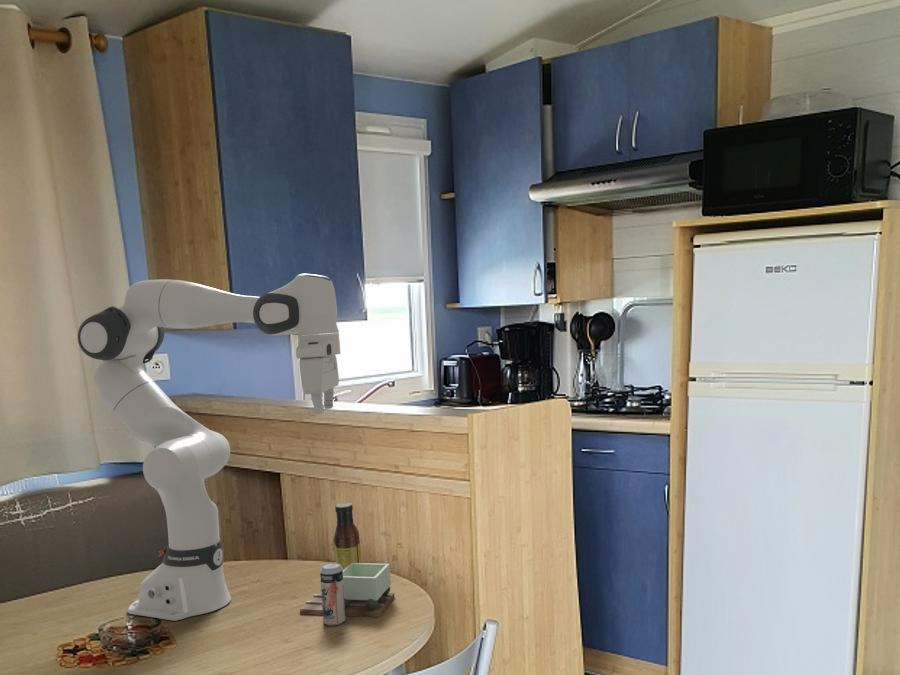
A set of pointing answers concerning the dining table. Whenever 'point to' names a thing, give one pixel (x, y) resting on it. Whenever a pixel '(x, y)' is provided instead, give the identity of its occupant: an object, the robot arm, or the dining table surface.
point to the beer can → (332, 594)
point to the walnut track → (353, 609)
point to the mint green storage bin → (366, 583)
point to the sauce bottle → (346, 537)
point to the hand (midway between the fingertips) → (324, 411)
